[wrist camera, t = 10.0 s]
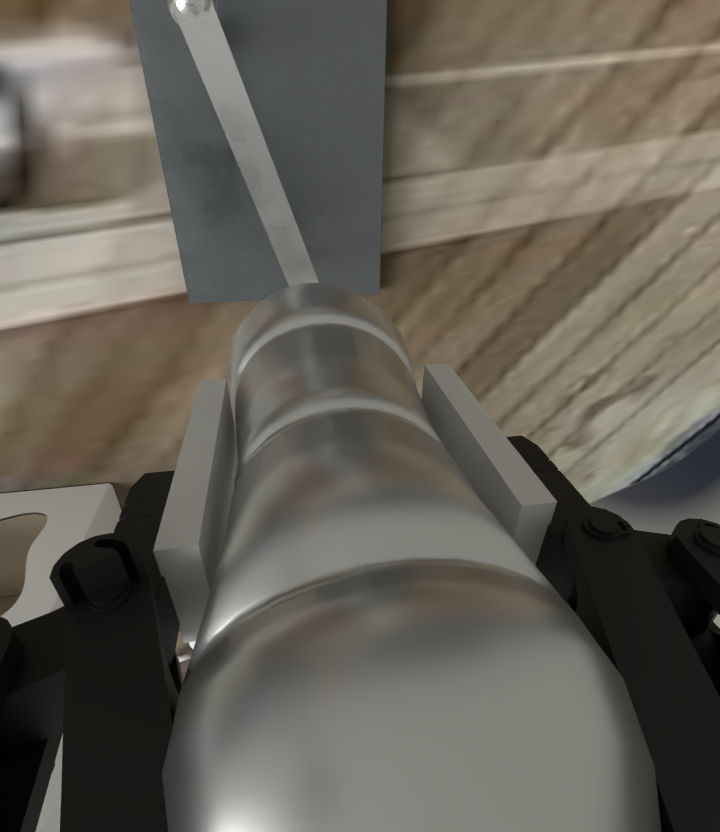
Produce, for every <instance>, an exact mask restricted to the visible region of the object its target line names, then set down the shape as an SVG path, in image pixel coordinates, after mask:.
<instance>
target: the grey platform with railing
mask: <svg viewBox="0 0 720 832" xmlns="http://www.w3.org/2000/svg"><path fill="white" fill-rule="evenodd" d="M129 1H130V6H131V12H132V17H133V22H134V27H135V32H136V37H137V42H138V47H139V52H140V57H141V62H142V67H143V72H144V77H145V82H146V87H147V92H148V97H149V102H150V107H151V112H152V117H153V122H154V127H155V132H156V137H157V142H158V147H159V152H160V157H161V162H162V167H163V172H164V178H165V183H166V188H167V193H168V198H169V203H170V208H171V213H172V218H173V223H174V228H175V233H176V238H177V243H178V248H179V253H180V258H181V263H182V268H183V273H184V278H185V283H186V288H187V293H188V298H189V303H210V302H231V301H252V300H264V299H265V298H266V297H268V296H269V295H271V294H273V293H275V292H277V291H279V290H281V289H283V288H286V287H289V286H293V285H297V284H301V283H325V284H331V285H337V286H340V287H342V288H345V289H348V290H351V291H353V292H355V293H356V294H358V295H377V294H380V257H381V217H382V178H383V139H384V99H385V60H386V20H387V0H129Z"/></svg>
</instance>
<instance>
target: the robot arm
mask: <svg viewBox="0 0 720 832" xmlns="http://www.w3.org/2000/svg"><path fill="white" fill-rule="evenodd" d="M421 401H422V403H423V406H424V408H425V411H426V413H427V416H428V418H429V421H430V423H431V426H432V428H433V430H434V431H435V433H436V434H437V436H438V437H439V439H440V440H441V442H442V443H443V445H444V446H445V449H446V451H447V452H448V453H449V454H450V456H451V457H452V458H453V460H454V461H455V463H456V464H457V466H458V467H459V469H460V470H461V472H462V473H463V475H464V476H465V478H466V479H467V481H468V482H469V484H470V485H471V487H472V488H473V490H474V491H475V493H476V494H477V496H478V497H479V499H480V500H481V501H482V502H483V504H484V505H485V506H486V507H487V508H488V510H489V511H490V512H491V513H492V514H493V516H494V517H495V518H496V519H497V520H498V522H499V523H500V524H501V525H502V526H503V528H504V529H505V530H506V531H507V532H508V534H509V535H510V536H511V537H512V538H513V539H514V541H515V542H516V543H517V544H518V545H519V547H520V548H521V549H522V550H523V551H524V553H525V554H526V555H527V556H528V557H529V559H530V560H531V561H532V562H533V563H534V565H535V566H536V567H537V568H538V569H539V571H540V572H541V573H542V574H543V575H544V577H545V578H546V579H547V580H548V581H549V583H550V584H551V585H552V586H553V587H554V589H555V590H556V591H557V592H558V594H559V595H560V596H561V597H562V599H563V600H564V601H566V602H567V603H568V605H569V606H570V607H571V608H572V610H573V611H574V612H575V613H576V615H577V616H578V617H579V618H580V620H581V621H582V622H583V624H584V625H585V626H586V628H587V629H588V631H589V632H590V633H591V635H592V636H593V638H594V639H595V640H596V642H597V643H598V645H599V646H600V647H601V649H602V650H603V652H604V653H605V654H606V656H607V657H608V658H609V660H610V661H611V662H612V664H613V665H614V666H615V668H616V669H617V670H618V672H619V673H620V674H621V676H622V677H623V679H624V681H625V684H626V687H627V690H628V693H629V696H630V698H631V701H632V704H633V707H634V710H635V713H636V715H637V718H638V721H639V724H640V727H641V730H642V732H643V735H644V738H645V741H646V744H647V747H648V749H649V752H650V755H651V758H652V761H653V764H654V768H655V776H656V785H657V793H658V802H659V810H660V819H661V827H662V832H720V628H718V627H717V626H716V624H715V623H714V622H713V620H714V619H715V617H716V616H717V615H718V614H719V615H720V525H719V524H717V523H713V522H710V521H706V520H703V519H691V518H690V519H686V520H682V521H680V522H679V523H678V524H677V525H676V527H675V529H674V531H673V532H672V534H671V535H668V534H660V533H652V532H644V531H637V530H634V529H633V528H632V527H631V526H630V524H629V523H628V522H627V521H625V520H624V519H623V518H621V517H620V516H618V515H617V514H614V513H612V512H610V511H608V510H606V509H601V508H596V507H591V506H590V505H589V504H588V503H587V501H586V500H585V499H584V498H583V497H582V496H581V494H580V493H579V492H578V491H577V490H576V489H575V488H574V486H573V485H572V484H571V483H570V482H569V481H568V480H567V478H566V477H565V476H564V475H563V474H562V473H561V472H560V471H558V468H557V467H556V466H555V465H554V464H553V462H552V461H549V458H548V457H547V456H546V454H545V453H544V452H543V451H542V450H541V449H540V447H539V446H538V445H536V444H534V443H533V442H531V441H529V440H528V439H526V438H525V437H523V436H513V437H506V436H505V435H504V434H503V432H502V431H501V430H500V429H499V427H498V426H497V425H496V424H495V422H494V421H493V420H492V419H491V417H490V416H489V415H488V414H487V412H486V411H485V410H484V408H483V407H482V406H481V405H480V403H479V402H478V401H477V400H476V398H475V397H474V396H473V395H472V393H471V392H470V391H469V390H468V388H467V387H466V386H465V384H464V383H463V382H462V381H461V379H460V378H459V377H458V376H457V374H456V373H455V372H454V371H453V369H452V368H451V367H450V366H449V364H448V363H440V364H426V365H425V367H424V378H423V389H422V400H421ZM237 465H238V464H237V442H236V433H235V427H234V421H233V414H232V408H231V402H230V396H229V390H228V384H227V378H223V379H209V380H200V382H199V386H198V390H197V393H196V397H195V401H194V404H193V408H192V411H191V415H190V419H189V422H188V426H187V430H186V433H185V437H184V440H183V444H182V448H181V451H180V455H179V458H178V462H177V466H176V469H175V471H166V472H155V473H145V474H144V475H143V476H142V477H141V478H140V479H139V480H138V481H137V482H136V483H135V484H134V485H133V486H132V487H131V488H130V491H129V494H128V496H127V499H126V501H125V504H124V508H123V509H122V512H121V514H120V517H119V521H118V522H117V524H116V527H115V530H114V532H113V533H108V534H103V535H98V536H94V537H91V538H89V539H87V540H84V541H82V542H80V543H78V544H76V545H75V546H73V547H72V548H71V549H69V550H68V551H66V552H65V553H64V554H63V555H62V556H61V557H60V558H59V560H58V561H57V562H56V563H55V564H54V566H53V569H52V571H51V574H50V577H49V578H50V580H51V582H52V584H53V586H54V588H55V590H56V591H57V593H58V595H59V597H60V599H61V601H62V603H63V605H64V606H63V607H61V608H59V609H56V610H54V611H52V612H50V613H47V614H45V615H42V616H40V617H37V618H34V619H32V620H29V621H26V622H24V623H21V624H19V625H16V626H13V627H12V626H11V624H10V623H9V621H8V620H7V619H5V618H3V617H0V832H36V828H37V825H38V821H39V817H40V814H41V810H42V806H43V803H44V799H45V796H46V792H47V788H48V785H49V781H50V777H51V774H52V770H53V767H54V763H55V759H56V756H57V752H58V748H59V745H60V741H61V738H62V734H63V748H62V782H61V819H60V832H168V824H167V815H166V806H165V797H164V788H163V779H162V770H163V766H164V762H165V758H166V753H167V749H168V745H169V741H170V737H171V732H172V727H173V718H174V711H175V707H176V704H177V701H178V697H179V694H180V691H181V688H182V685H183V679H182V674H181V669H180V663H179V660H178V657H177V655H176V652H175V648H176V643H177V637H178V631H179V630H180V633H181V636H182V639H183V642H184V643H187V642H193V641H196V639H197V635H198V632H199V629H200V625H201V622H202V619H203V615H204V612H205V608H206V605H207V602H208V598H209V595H210V592H211V588H212V585H213V582H214V578H215V575H216V571H217V568H218V565H219V561H220V558H221V555H222V551H223V545H224V539H225V534H226V528H227V522H228V516H229V510H230V504H231V499H232V496H233V492H234V481H235V476H236V470H237Z"/></svg>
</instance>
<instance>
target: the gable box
mask: <svg viewBox="0 0 720 832" xmlns="http://www.w3.org/2000/svg"><path fill="white" fill-rule="evenodd" d="M121 512H122V511H121V508H120V505H119V502H118V499H117V497H116V494H115V491H114V488H113V485H112V484H109V483H107V484H97V485H86V486H76V487H65V488H55V489H44V490H34V491H23V492H12V493H2V494H0V617H3V618H5V619H7V620H8V621H9V623H10V624H11V626H12V627H13V626H16V625H19V624H21V623H24V622H26V621H29V620H32V619H34V618H37V617H40V616H42V615H45V614H47V613H50V612H52V611H54V610H56V609H59V608H61V607H63V606H64V605H63V603H62V601H61V599H60V597H59V595H58V593H57V591H56V590H55V588H54V586H53V584H52V582H51V580H50V578H49V577H50V574H51V571H52V569H53V566H54V564H55V563H56V562H57V561H58V560H59V558H60V557H61V556H62V555H63V554H64V553H65V552H66V551H68V550H69V549H71V548H72V547H73V546H75V545H76V544H78V543H80V542H82V541H84V540H87V539H89V538H91V537H94V536H98V535H103V534H108V533H113V532H114V530H115V527H116V524H117V522H118V521H119V517H120V514H121ZM62 748H63V734H62V738H61V741H60V745H59V748H58V752H57V756H56V759H55V763H54V767H53V770H52V774H51V777H50V781H49V785H48V788H47V792H46V796H45V799H44V803H43V806H42V810H41V814H40V817H39V821H38V825H37V828H36V832H38V831H39V830H40V829H41V828H42V827H43V826H44V824H45V823H46V822H47V821H48V820H49V818H50V817H51V816H52V815H53V814H54V813H55V811H56V810H57V809H58V808H59V807H60V806H61V782H62Z"/></svg>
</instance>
